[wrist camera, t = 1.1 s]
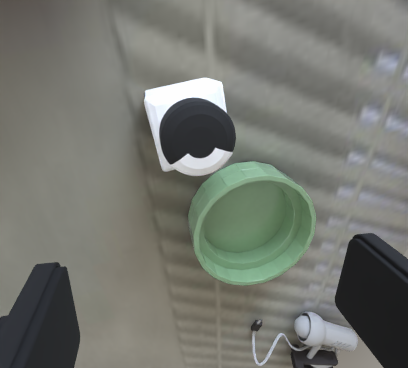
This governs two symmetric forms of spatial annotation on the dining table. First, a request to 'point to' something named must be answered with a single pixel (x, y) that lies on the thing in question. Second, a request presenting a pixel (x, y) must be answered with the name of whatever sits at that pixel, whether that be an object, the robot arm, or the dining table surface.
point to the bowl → (250, 223)
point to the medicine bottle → (190, 126)
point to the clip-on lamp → (313, 341)
